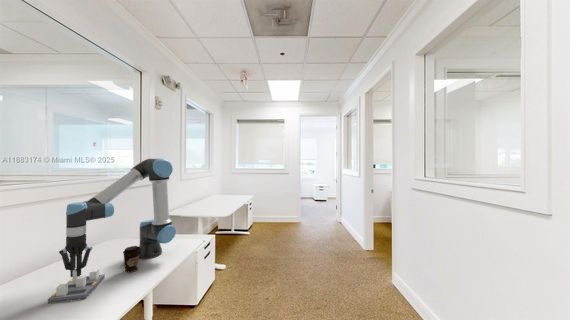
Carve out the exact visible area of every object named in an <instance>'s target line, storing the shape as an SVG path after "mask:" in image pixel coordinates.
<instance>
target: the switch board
mask: <svg viewBox="0 0 570 320" xmlns="http://www.w3.org/2000/svg"><path fill="white" fill-rule="evenodd" d="M85 276H86V285H85V286H84V287H76V284H73V277H71V278H70V280H69V281H67V282H66V283H65V284H68V294H66V295H64V296H56V292H54V293H53V294H52V295H50V296H49V298H47V304H53V303H55V304H56V303H64V302H69V301H71V300H72V301H77V300H78V299H80V300H87V298H89V296H90V295H91V294H92V293H93V291H94V290H95V289H96V288H97V287H98V286H99V285H100V284H101V283H102V281H103V280H104V279H105V277H106V274H105V273H104V274H99V278H98V279H95V280H89V275H85ZM89 294H90V295H89ZM78 301H79V300H78Z"/></svg>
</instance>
